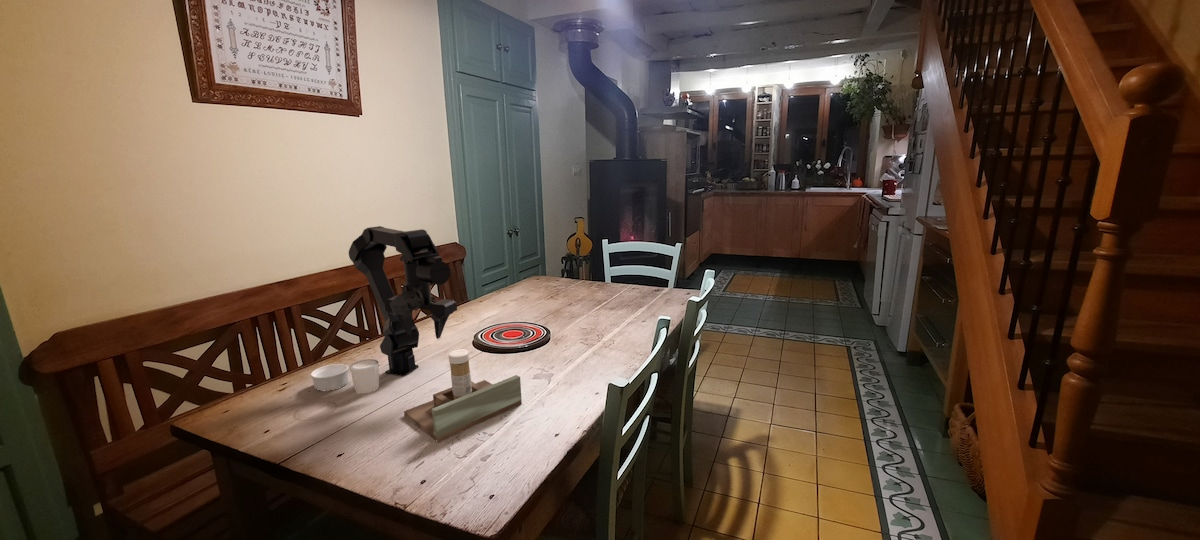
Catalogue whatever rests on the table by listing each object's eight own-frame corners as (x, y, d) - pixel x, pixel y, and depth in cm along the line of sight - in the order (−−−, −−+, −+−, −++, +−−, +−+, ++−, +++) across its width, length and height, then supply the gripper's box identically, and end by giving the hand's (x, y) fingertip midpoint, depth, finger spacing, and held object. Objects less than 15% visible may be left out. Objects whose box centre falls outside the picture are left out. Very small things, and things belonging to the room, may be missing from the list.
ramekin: (308, 385, 131) (305, 370, 130) (343, 375, 137) (341, 360, 136) (319, 396, 125) (317, 380, 124) (355, 384, 131) (353, 369, 130)
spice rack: (404, 415, 114) (401, 387, 112) (484, 384, 130) (482, 358, 128) (438, 442, 103) (435, 411, 102) (521, 404, 119) (520, 376, 117)
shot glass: (387, 384, 130) (384, 360, 129) (367, 396, 124) (364, 371, 122) (367, 381, 132) (363, 357, 131) (346, 392, 126) (343, 367, 124)
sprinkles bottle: (465, 398, 119) (460, 347, 116) (477, 403, 117) (472, 351, 114) (449, 406, 116) (444, 353, 113) (461, 411, 113) (456, 358, 110)
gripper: (364, 284, 120) (372, 343, 124) (427, 289, 114) (434, 351, 118) (396, 274, 131) (402, 329, 134) (455, 278, 125) (460, 336, 128)
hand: (423, 336), depth 128 cm, fingers open, 9 cm apart
